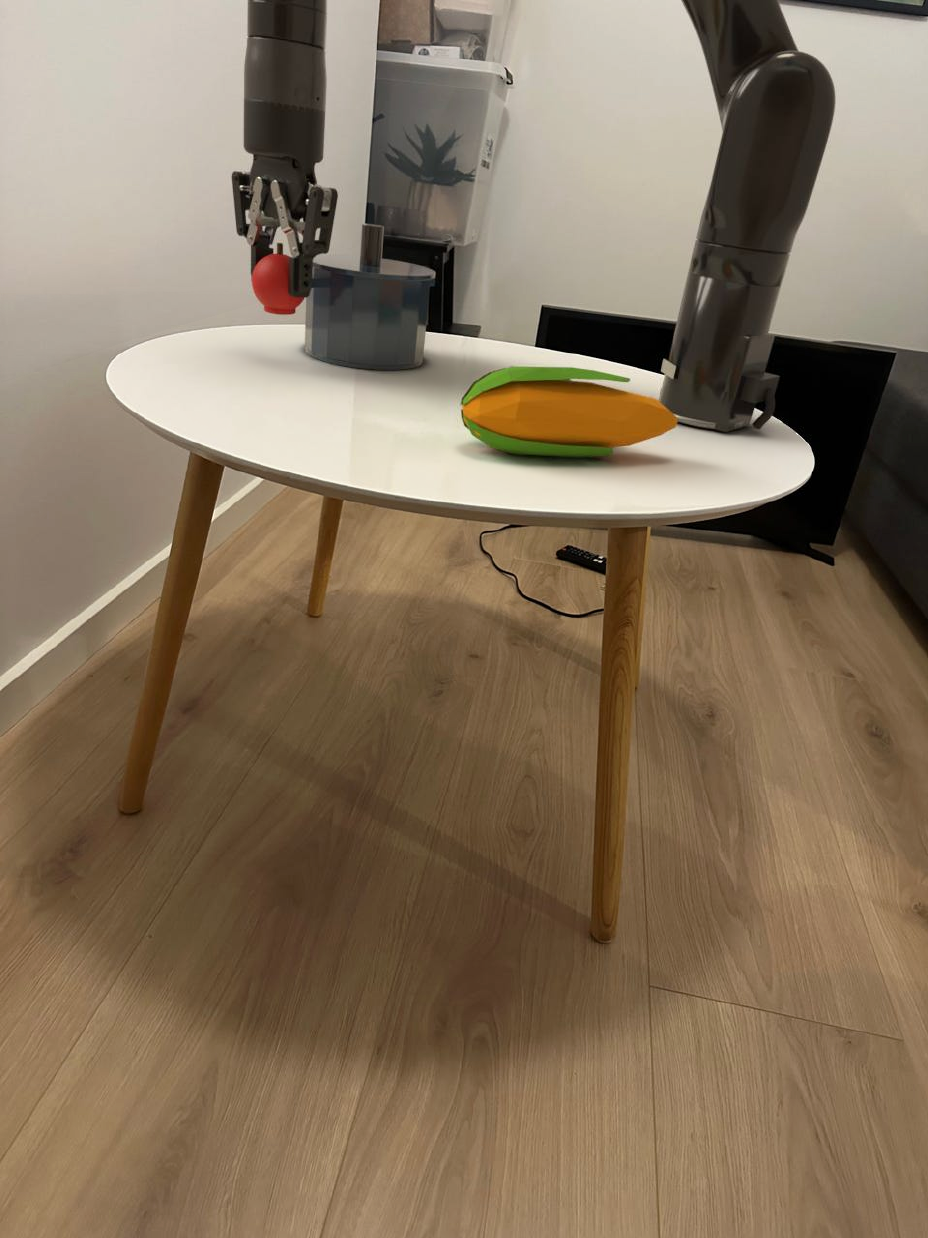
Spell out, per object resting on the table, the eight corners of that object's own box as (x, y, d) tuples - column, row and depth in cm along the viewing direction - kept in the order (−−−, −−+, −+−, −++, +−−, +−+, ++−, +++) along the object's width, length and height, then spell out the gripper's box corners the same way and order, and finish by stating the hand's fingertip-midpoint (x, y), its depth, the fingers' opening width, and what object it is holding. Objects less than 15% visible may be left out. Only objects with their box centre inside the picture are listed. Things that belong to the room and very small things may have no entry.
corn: (456, 345, 72) (668, 361, 77) (444, 432, 76) (647, 440, 81) (479, 374, 66) (707, 388, 71) (466, 466, 70) (682, 472, 75)
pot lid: (461, 285, 97) (466, 236, 94) (365, 287, 87) (368, 232, 84) (373, 263, 105) (376, 218, 102) (276, 263, 95) (277, 212, 92)
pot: (461, 362, 103) (471, 279, 98) (340, 376, 90) (345, 280, 85) (383, 338, 110) (389, 259, 106) (261, 347, 97) (262, 257, 93)
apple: (318, 315, 89) (319, 247, 86) (274, 318, 86) (274, 247, 82) (284, 304, 92) (285, 238, 89) (241, 307, 89) (239, 238, 85)
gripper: (366, 112, 79) (354, 304, 87) (270, 101, 87) (267, 278, 95) (301, 100, 74) (294, 305, 82) (206, 90, 81) (208, 278, 89)
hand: (280, 290), depth 88 cm, fingers closed on apple, 5 cm apart
